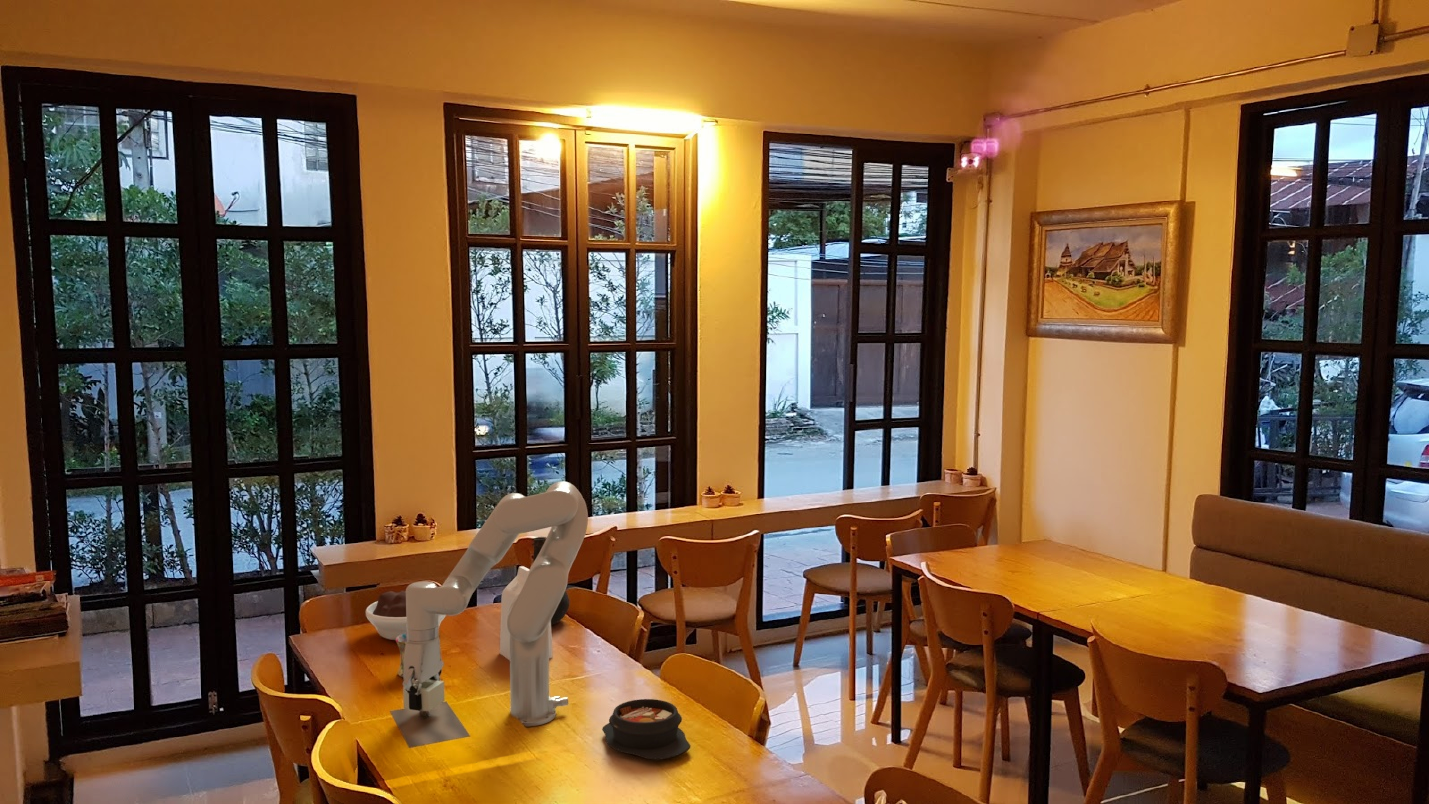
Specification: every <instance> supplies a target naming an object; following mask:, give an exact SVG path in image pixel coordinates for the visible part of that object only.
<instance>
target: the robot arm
mask: <svg viewBox="0 0 1429 804" xmlns="http://www.w3.org/2000/svg"><path fill="white" fill-rule="evenodd" d="M588 522H589V515H588V507H587V503H586V501H585V499H584V498H583V495H582V493H581V492H580V491H579V489H577V487H576V486H575V485H574V484H572V483H571V482H568V481H557V482H554V483H552V484H551V485H550V486H549V487H548V488H547V489H546V491H545V492H541V493H538V494H533V495H528V496H525V495H523V494H522V493H518V492H512V493H508V494H505V496H504V497H502V498H501V499H500V501H499V502H498V503H497V505H496V506H495V508H493V510H492V512H491V514H490V515H489V516H488V518H487V519H486V520H485V522H483V523H484V524H482V526H481V527H480V529H479V530H478V532H477V533H476V534H475V536H474V537H473V539H472V540H471V541H470V543H469V545H468V546H467V549H466V550H465V552H464V554H462V557H461V558H460V559H459V561H458V562H457V563H456V565H455V566H454V567H453V570H452V571H451V572H450V573H449V574H448V576H447V578H445V580H444V582H443V584H442V585H440V586H438V585H437V584H436V583H434V582H431V581H426V580H425V581H424V580H423V581H416V582H413V583H412V582H411V583H410V584H409V585H407V586H406V589H405V592H406V619H407V642H406V646H405V652H404V669H403V677H402V678H403V681H402V686H403V688H405V689H406V691H407V694H409V709H411V710H418V711H420V710H421V709H422V696H421V694H420V690H421V685H422V683H423V682H424V681H426V680H428V679H429V680H437V681H441V674H442V670H443V667H444V663H445V662H444V661H443V660H442V653H441V651H442V649H441V642H440V637H439V635H440V631H439V630H440V629H439V628H440V626H439V624H438V614H440V615H446V616H453V617H454V616H457V615H460V614H461V613H463V612H464V611H465V610H466V609H467V607H468V604H469V602H470V599H471V598H472V595H473V593H474V592H475V591H476V590H477V588H478V586H479V585H480V584H481V582H482V581H483V580H484V578H485V577H486V575H487V574H488V573H489V572H490V570H491V569H492V568H493V567H494V566H495V565H497V564H499V563H500V562H501V561H502V560H503V558H504V557H505V555H506V553H508V552H509V550H510V548H511V546H512V545H513V544H514V542H515V541H516V540H517V538H518V537H519V535H520V534H525V533H530V532H534V531H538V530H544V529H547V528H550V529H549V532H548V534H547V536H546V537H547V538H546V541H545V543H544V545H543V547H542V549H541V550H540V552H539V554H538V556H537V558H536V559H535V561H534V562H533V561H532V563H531V565H530V568H529V569H530V570H529V574H528V577H527V580H526V582H525V584H524V586H523V588H522V590H521V592H520V594H518V595H517V596H516V597H515V598H514V599H513V601H512V603H511V605H510V608H509V612H508V617H507V628H508V631H509V633H510V660H509V676H510V677H509V679H510V681H509V683H510V687H509V689H510V692H509V693H510V707H509V710H510V715H511V716H512V717H513V718H516V719H518V721H519V722H520V723H521V724H522V725H523V727H535V726H536V727H537V726H541V725H545V724H547V723H550V722H551V721H553V720H554V719H555V718H556V716H557V715H556V713H557V711H556V709H557V707H564V706H568V705H569V699H568V697H567V696H566V697H560V695H557V696H553V697H552V696H551V695H550V658H549V623H550V621H551V619H552V617H553V615H554V613H555V611H556V609H557V607H558V605H559V603H560V601H561V599H562V597H563V595H564V592H565V591H566V589H567V585H568V581H569V580H568V579H569V573H570V570H571V568H572V565H573V563H574V561H575V560H576V557H577V555H578V552H579V550H580V548H581V546H582V544H583V542H584V539H585V536H586V533H587V529H588ZM415 679H416V680H417V681H416V680H415ZM414 684H417V687H416V688H415V687H414V686H413V685H414Z"/></svg>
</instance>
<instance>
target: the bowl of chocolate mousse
mask: <svg viewBox="0 0 1429 804" xmlns="http://www.w3.org/2000/svg"><path fill="white" fill-rule="evenodd" d="M446 616H447V615H440V614H438V624H439V627H440V625H441V623H442V621H443V620H444V619H445V617H446ZM365 617H366V618H367V620H368V621H369V622H370V624H371V625H372V626H374V628H375V630H376V631H377V633H378V634H379V636H380V637H382V638H384V639H386V640H391V641H396V638H397V637H398V636H400V635H402V634H406V633H407V619H406V590H403V589H402V590H401V591H398V592H395V591H392V590H389V591H386V592H383V593H381V594H379V596H378V600H377V601H375V602H373V603H371V604H370V605H368V606H367V607H366V609H365Z"/></svg>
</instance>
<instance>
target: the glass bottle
mask: <svg viewBox="0 0 1429 804" xmlns="http://www.w3.org/2000/svg"><path fill="white" fill-rule="evenodd" d="M546 538H547V536H538V537H534V538H533V542H532V543H531V544H530V545H531V546H533V557H532V563H533V562H534V561H535V559H536V558H537V556H538V554H539V552H540V550H541V549H542V547H543V545H544V543H545V541H546ZM569 607H570V597H569V595H568V592H567V591H566V590H565V592H564V595H563V597H562V599H561V601H560V603H559V605H558V607H557V609H556V611H555V613H554V615H553V617H552V619H551V626H552V625H555V624H557V623H559V622H561V621H562V619H564V617H565V615H566V614H567V612H568V611H569Z"/></svg>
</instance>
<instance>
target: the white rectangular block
mask: <svg viewBox="0 0 1429 804" xmlns="http://www.w3.org/2000/svg"><path fill="white" fill-rule="evenodd" d="M415 681H417V679H416V680H415ZM413 686H414V687H415V688H416V687H417V684H414V685H413ZM402 691H403V692H402V695H403V697H402V698H403V709H405V708H407V709H409V694H407V691H406V689H405V688H404V687H403V689H402ZM420 694H421V696H422V709H421V710H422V711H430V710H432V709H433V708H435V707H436V706H438V705H439V704H441V703H442V702H446V701H445V681H444V680H440V681H437V680H429V679H428V680H426V681H424V682H423V683H422V685H421V690H420Z"/></svg>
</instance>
